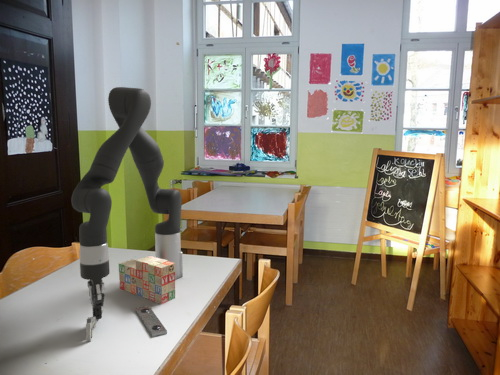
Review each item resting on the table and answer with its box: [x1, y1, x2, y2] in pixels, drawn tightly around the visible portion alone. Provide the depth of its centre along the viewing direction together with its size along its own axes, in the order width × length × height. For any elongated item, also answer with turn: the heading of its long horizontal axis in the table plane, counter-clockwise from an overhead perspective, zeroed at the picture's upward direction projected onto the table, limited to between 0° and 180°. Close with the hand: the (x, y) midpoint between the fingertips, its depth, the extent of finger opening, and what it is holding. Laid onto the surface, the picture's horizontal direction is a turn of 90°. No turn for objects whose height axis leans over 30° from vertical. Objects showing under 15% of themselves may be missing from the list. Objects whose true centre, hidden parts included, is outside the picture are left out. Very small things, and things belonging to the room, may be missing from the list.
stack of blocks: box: [118, 255, 176, 305], centre depth 137 cm, size 21×6×12 cm, turn 55°
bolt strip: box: [135, 305, 168, 338], centre depth 118 cm, size 4×18×1 cm, turn 29°
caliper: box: [85, 306, 105, 343], centre depth 116 cm, size 20×1×6 cm, turn 10°
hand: (97, 318), depth 115 cm, fingers closed
